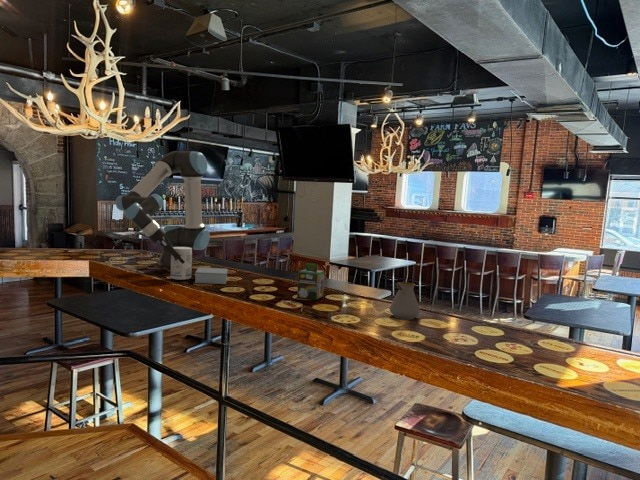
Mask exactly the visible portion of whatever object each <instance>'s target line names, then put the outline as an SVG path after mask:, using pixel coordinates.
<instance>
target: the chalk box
mask: <svg viewBox="0 0 640 480" xmlns="http://www.w3.org/2000/svg"><path fill="white" fill-rule="evenodd" d="M305 265H306V269H302V270H299V271H298V273H297V274H298V277H297V294H296V295H297V298H302V299H309V300H315V301H317V300H318V299H320V298H322V297H324V288H325V287H324V286H325V283H324V282H325V270H320V269H318V268H317V267H318V266H317V263H310V262H307V263H306V264H305ZM310 267H313V268H310Z"/></svg>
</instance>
